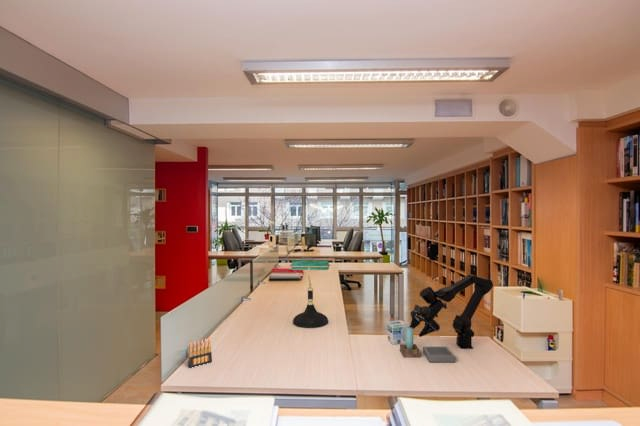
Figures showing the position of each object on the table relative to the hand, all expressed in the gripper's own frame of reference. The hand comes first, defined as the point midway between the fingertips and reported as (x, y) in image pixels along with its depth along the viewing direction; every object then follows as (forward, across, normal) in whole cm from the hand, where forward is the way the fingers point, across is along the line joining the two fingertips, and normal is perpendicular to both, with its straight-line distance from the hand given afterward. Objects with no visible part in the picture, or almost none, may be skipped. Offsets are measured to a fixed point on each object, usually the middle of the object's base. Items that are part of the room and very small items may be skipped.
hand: (414, 333), depth 175 cm
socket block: (+9, 0, +5) cm, 10 cm away
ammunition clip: (+80, -20, -64) cm, 105 cm away
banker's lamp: (+33, -65, -18) cm, 75 cm away
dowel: (+9, 0, +5) cm, 10 cm away
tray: (+1, +8, +13) cm, 15 cm away
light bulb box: (+7, -17, +8) cm, 20 cm away
